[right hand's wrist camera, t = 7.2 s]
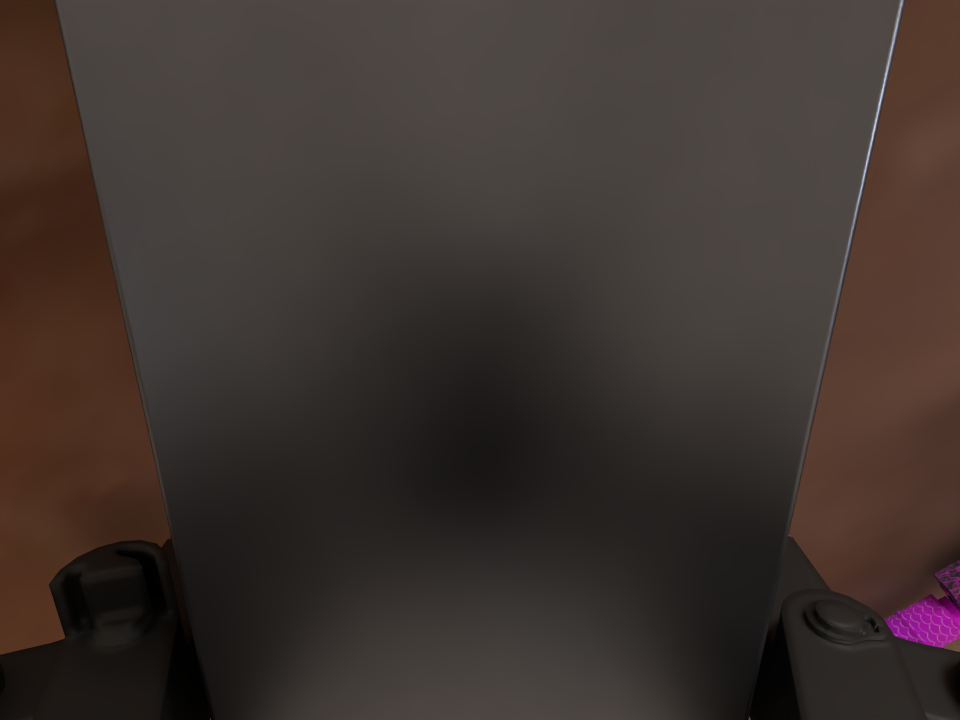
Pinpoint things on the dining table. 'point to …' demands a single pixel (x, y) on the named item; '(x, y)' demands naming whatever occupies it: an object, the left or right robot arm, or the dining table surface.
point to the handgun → (932, 613)
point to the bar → (479, 332)
